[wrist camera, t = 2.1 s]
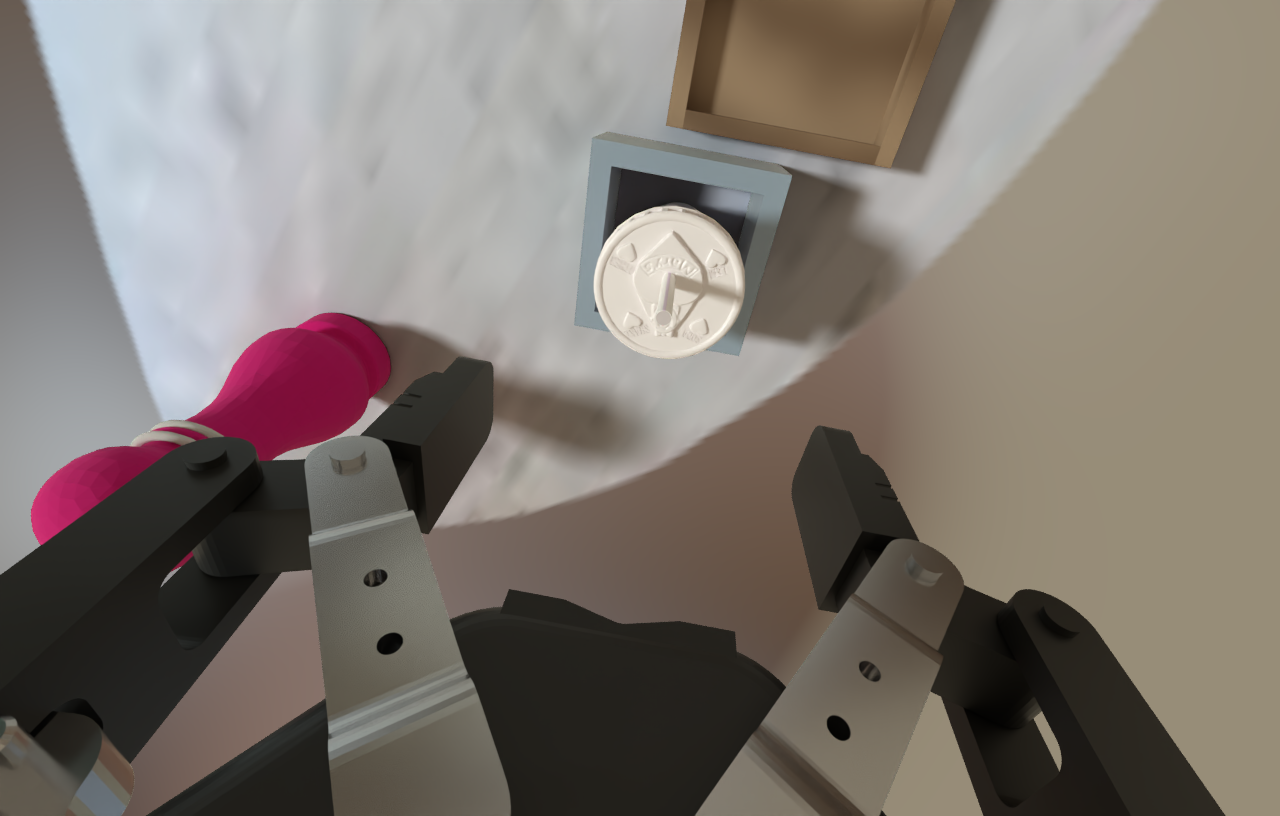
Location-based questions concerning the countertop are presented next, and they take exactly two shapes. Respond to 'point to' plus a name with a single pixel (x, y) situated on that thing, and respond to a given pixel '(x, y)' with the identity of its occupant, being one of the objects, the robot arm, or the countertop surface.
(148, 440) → the pepper mill
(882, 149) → the tray
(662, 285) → the smoothie
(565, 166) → the countertop surface
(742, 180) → the holder
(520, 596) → the robot arm
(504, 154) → the countertop surface
